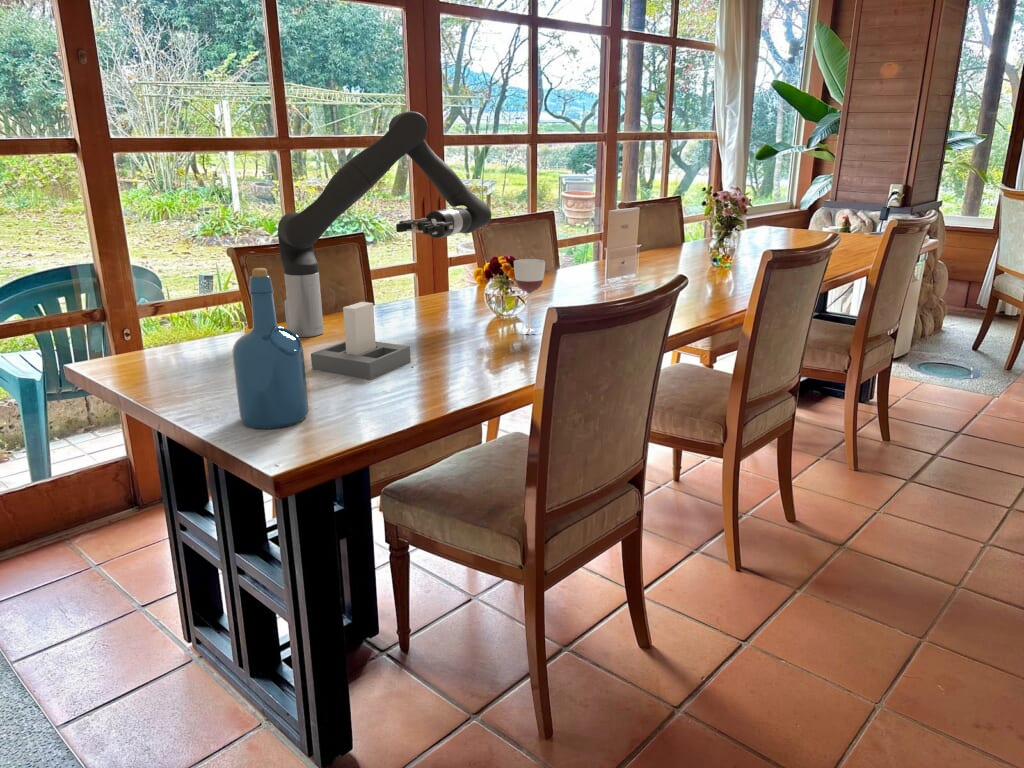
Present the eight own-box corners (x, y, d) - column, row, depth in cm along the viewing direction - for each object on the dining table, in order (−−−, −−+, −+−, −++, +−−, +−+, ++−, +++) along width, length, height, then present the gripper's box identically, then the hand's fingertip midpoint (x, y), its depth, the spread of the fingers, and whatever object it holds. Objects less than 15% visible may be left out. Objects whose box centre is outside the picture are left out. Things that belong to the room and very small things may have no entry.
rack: (312, 369, 186) (310, 353, 185) (354, 353, 199) (353, 338, 198) (370, 379, 178) (369, 363, 177) (410, 362, 192) (409, 346, 190)
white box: (347, 364, 186) (342, 307, 182) (365, 357, 192) (361, 301, 188) (358, 366, 185) (354, 308, 180) (376, 359, 191) (373, 303, 186)
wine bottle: (225, 426, 151) (205, 272, 141) (268, 404, 163) (253, 261, 153) (284, 435, 146) (267, 277, 137) (324, 412, 158) (311, 265, 149)
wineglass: (542, 336, 215) (542, 264, 209) (511, 334, 217) (511, 263, 210) (546, 329, 223) (547, 259, 216) (516, 327, 224) (516, 258, 218)
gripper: (422, 208, 220) (388, 213, 206) (465, 210, 214) (432, 216, 200) (423, 235, 222) (389, 241, 209) (466, 238, 216) (433, 245, 202)
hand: (410, 229), depth 204 cm, fingers open, 8 cm apart
